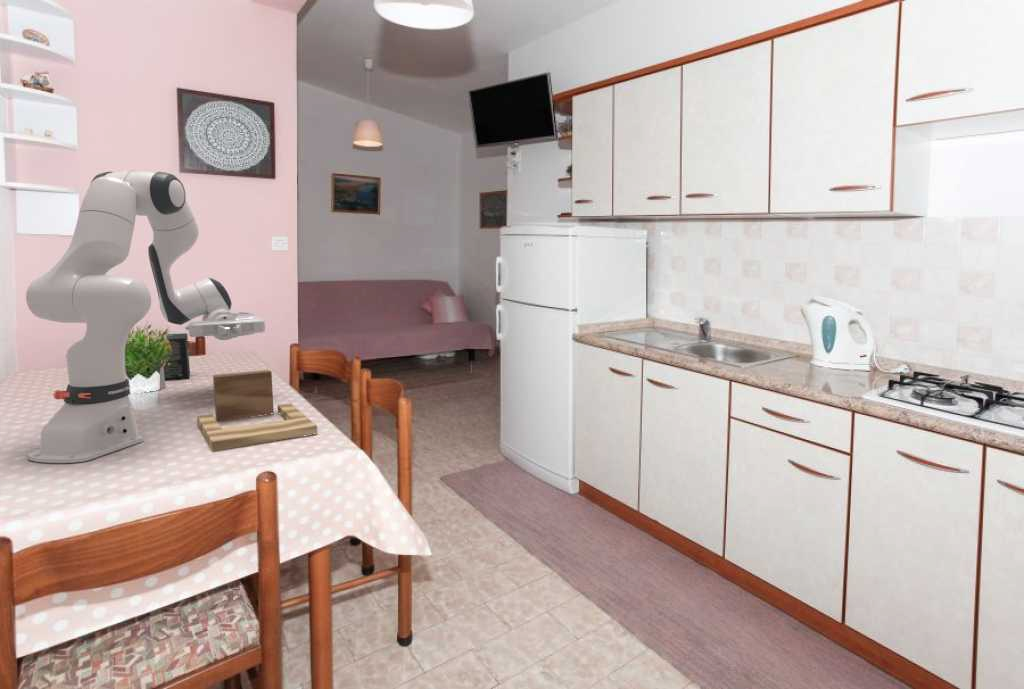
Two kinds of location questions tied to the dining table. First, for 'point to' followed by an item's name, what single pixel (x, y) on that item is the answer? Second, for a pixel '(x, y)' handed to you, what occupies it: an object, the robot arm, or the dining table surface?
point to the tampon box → (177, 358)
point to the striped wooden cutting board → (256, 430)
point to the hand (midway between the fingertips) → (231, 330)
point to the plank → (243, 394)
